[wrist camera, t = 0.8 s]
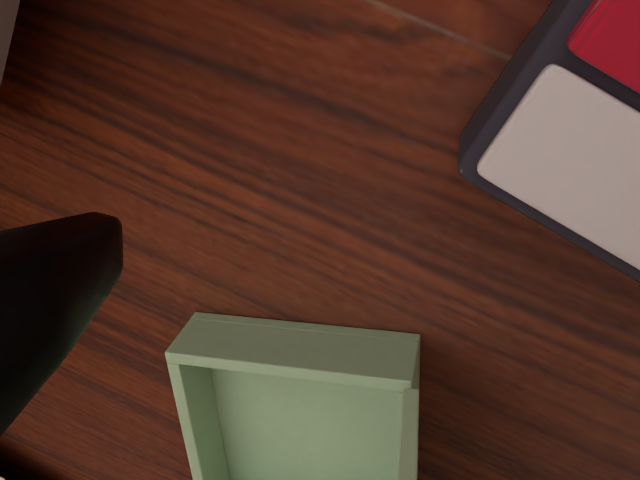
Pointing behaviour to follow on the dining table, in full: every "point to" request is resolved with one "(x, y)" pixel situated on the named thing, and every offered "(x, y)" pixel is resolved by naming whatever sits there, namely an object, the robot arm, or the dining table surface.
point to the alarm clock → (6, 29)
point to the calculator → (568, 129)
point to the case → (290, 398)
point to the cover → (409, 435)
